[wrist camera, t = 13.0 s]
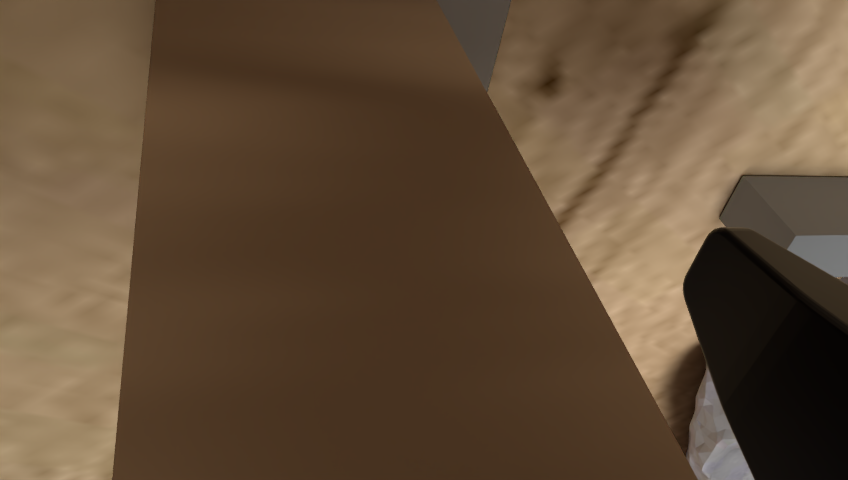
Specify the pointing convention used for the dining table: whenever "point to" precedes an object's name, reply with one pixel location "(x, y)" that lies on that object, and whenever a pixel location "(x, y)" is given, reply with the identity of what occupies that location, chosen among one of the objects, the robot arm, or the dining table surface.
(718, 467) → the stone block
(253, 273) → the block
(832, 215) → the frame
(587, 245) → the dining table surface
